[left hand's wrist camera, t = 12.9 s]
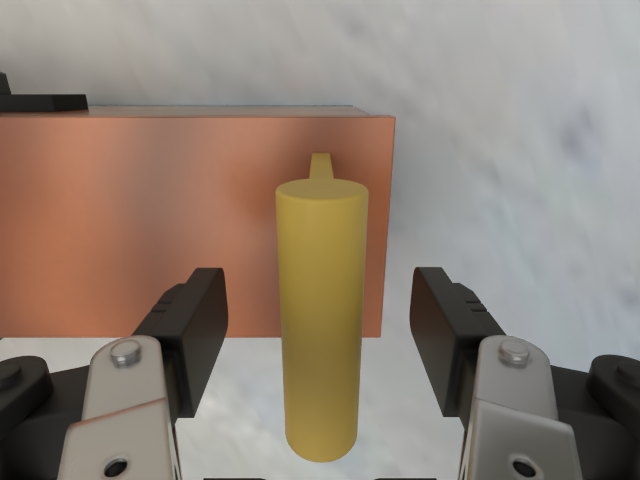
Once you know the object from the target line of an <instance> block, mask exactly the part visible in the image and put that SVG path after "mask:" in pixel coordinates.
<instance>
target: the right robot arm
mask: <svg viewBox="0 0 640 480" xmlns="http://www.w3.org/2000/svg"><path fill="white" fill-rule="evenodd" d="M86 109H88V104H87V100H86V95H85V94H35V95H11V92H10V88H9V84H8V81H7V77H6V74H5V73H2V72H0V112H61V111H73V110H86ZM2 338H4V337H0V340H1V339H2Z"/></svg>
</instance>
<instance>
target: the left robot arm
mask: <svg viewBox="0 0 640 480" xmlns="http://www.w3.org/2000/svg"><path fill="white" fill-rule="evenodd" d="M410 328H411V332H412V335H413V338H414V341H415V343H416V346H417V348H418V351H419V354H420V356H421V359H422V362H423V364H424V367H425V370H426V372H427V375H428V377H429V380H430V383H431V385H432V388H433V391H434V393H435V396H436V399H437V401H438V404H439V406H440V409H441V412H442V414H443V417H460V419H461V422H462V424H463V426H464V434H463V440H462V448H461V455H460V463H459V471H458V478H457V480H640V361H638V360H635V359H632V358H628V357H624V356H618V355H601V356H598V357H596V358H595V359H593V361H592V364H591V367H590V370H589V373H586V372H581V371H576V370H571V369H566V368H561V367H556V366H552V365H550V362H549V359H548V357H547V355H546V354H545V353H544V352H543V351H542V350H541V349H539V348H538V347H536V346H535V345H533V344H531V343H530V342H527V341H525V340H522V339H520V338H516V337H512V336H507V335H506V334H505V333H504V331H503V330H502V329H501V328H500V326H499V325H498V324H497V322H496V321H495V320H494V318H493V317H492V316H491V314H490V313H489V312H487V309H486V308H485V307H484V305H483V304H482V303H481V301H480V300H479V299H478V297H477V296H476V295H475V293H474V292H473V291H471V290H470V289H468V288H467V287H465V286H464V285H462V284H460V283H452V282H451V280H450V279H449V277H448V276H447V274H446V273H445V272H444V270H443V269H442V268H441V267H416V268H415V270H414V274H413V284H412V294H411V304H410ZM227 329H228V304H227V294H226V284H225V275H224V270H223V268H196V269H195V270H194V272H193V273H192V274H191V276H190V277H189V279H188V280H187V282H186V283H178V284H176V285H175V286H173V287H172V288H170V289H169V290H167V291H165V292H164V293H163V295H162V296H161V297H160V299H159V300H158V301H157V304H155V305H154V306H153V308H152V309H151V312H149V313H148V314H147V315H146V317H145V318H144V319H143V321H142V322H141V323H140V324H139V326H138V327H137V328H136V330H135V331H134V332H133V334H132V335H131V336H128V337H124V338H120V339H118V340H115V341H113V342H110V343H109V344H107V345H105V346H104V347H102V348H101V349H99V350H98V351H97V352H96V353H95V354H94V355H93V357H92V359H91V362H90V365H88V366H84V367H79V368H74V369H69V370H65V371H60V372H55V373H49V370H48V367H47V363H46V361H45V360H44V359H43V358H40V357H37V356H21V357H15V358H11V359H7V360H4V361H1V362H0V480H183V478H182V471H181V463H180V455H179V448H178V440H177V434H176V428H175V423H176V420H177V418H194V416H195V413H196V411H197V408H198V406H199V403H200V400H201V398H202V395H203V393H204V390H205V388H206V385H207V382H208V380H209V377H210V375H211V372H212V369H213V367H214V364H215V362H216V359H217V356H218V354H219V351H220V349H221V346H222V344H223V341H224V338H225V336H226V333H227ZM204 480H265V479H261V478H204ZM375 480H436V478H379V479H375Z"/></svg>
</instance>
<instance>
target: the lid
mask: <svg viewBox="0 0 640 480" xmlns="http://www.w3.org/2000/svg"><path fill="white" fill-rule="evenodd" d="M394 132H395V117H393V116H390V115H0V337H128V336H131V335H132V334H133V332H134V331H135V330H136V328H137V327H138V326H139V324H140V323H141V322H142V321H143V319H144V318H145V317H146V315H147V314H148V313H149V312H151V309H152V308H153V306H154V305H155V304H157V301H158V300H159V299H160V297H161V296H162V295H163V293H164V292H165V291H167V290H169V289H170V288H172V287H173V286H175V285H176V284H178V283H186V282H187V280H188V279H189V277H190V276H191V274H192V273H193V272H194V270H195V269H196V268H223V270H224V275H225V284H226V294H227V304H228V329H227V333H226V336H225V337H282V361H283V384H284V408H285V431H286V438H287V441H288V444H289V445H290V447H291V448H292V450H293V451H294V452H295V453H296V454H298V455H299V456H300V457H302V458H304V459H306V460H309V461H313V462H321V463H322V462H330V461H334V460H337V459H339V458H341V457H343V456H344V455H345V454H347V453H348V452H349V451H350V449H351V448H352V447H353V445H354V443H355V441H356V438H357V426H358V405H359V384H360V363H361V342H362V337H380V336H381V322H382V308H383V293H384V278H385V264H386V249H387V235H388V220H389V205H390V191H391V176H392V162H393V147H394Z"/></svg>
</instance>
